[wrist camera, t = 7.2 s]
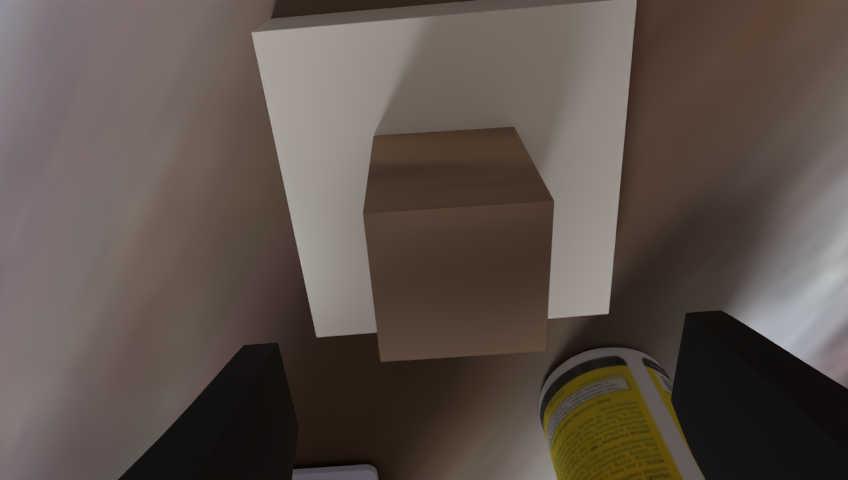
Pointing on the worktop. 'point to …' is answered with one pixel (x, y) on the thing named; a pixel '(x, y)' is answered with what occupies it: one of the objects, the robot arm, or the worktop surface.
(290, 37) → the riser
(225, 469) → the robot arm
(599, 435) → the supplement bottle
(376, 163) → the block
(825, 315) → the worktop surface
